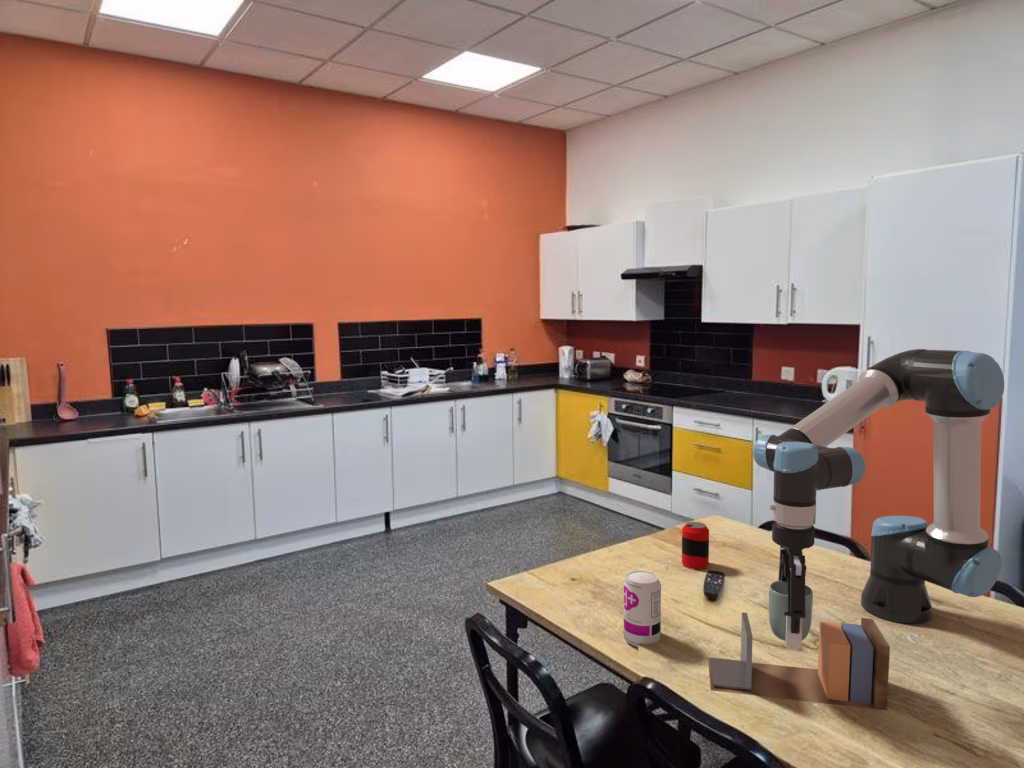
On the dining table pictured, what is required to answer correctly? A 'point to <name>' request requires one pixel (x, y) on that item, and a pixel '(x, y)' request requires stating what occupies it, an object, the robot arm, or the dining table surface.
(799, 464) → the robot arm
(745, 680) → the bookend
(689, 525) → the soda can
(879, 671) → the shelf
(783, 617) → the cup
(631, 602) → the supplement can
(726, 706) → the dining table surface
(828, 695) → the book terracotta
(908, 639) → the dining table surface
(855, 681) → the book navy
